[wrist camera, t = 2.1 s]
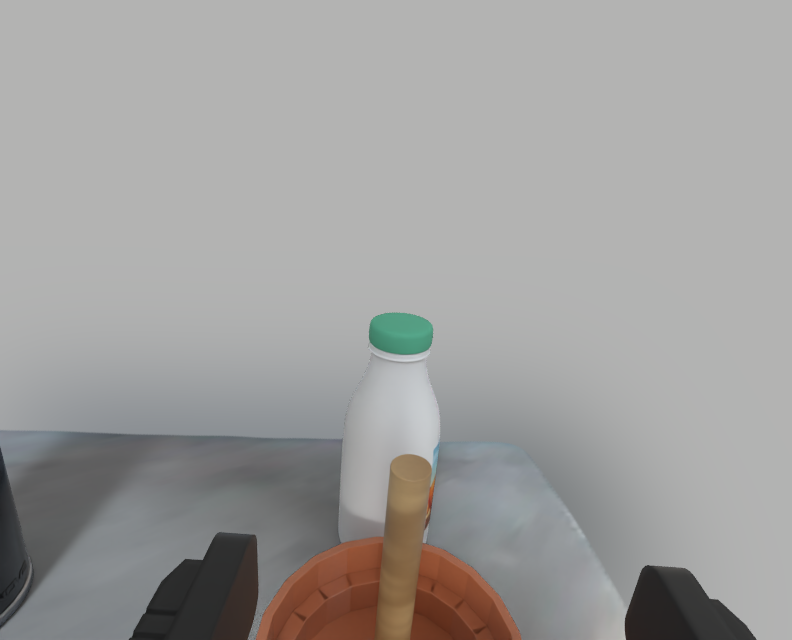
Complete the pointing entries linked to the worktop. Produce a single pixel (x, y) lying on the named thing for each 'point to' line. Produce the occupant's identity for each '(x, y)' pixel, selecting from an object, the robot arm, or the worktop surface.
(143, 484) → the worktop surface
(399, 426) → the milk bottle
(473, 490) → the worktop surface
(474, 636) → the bowl
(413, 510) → the stirring stick
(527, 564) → the worktop surface
